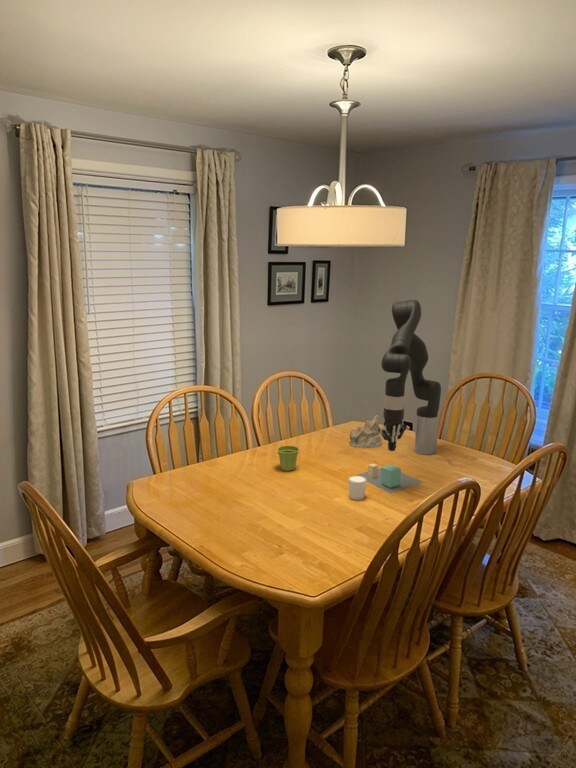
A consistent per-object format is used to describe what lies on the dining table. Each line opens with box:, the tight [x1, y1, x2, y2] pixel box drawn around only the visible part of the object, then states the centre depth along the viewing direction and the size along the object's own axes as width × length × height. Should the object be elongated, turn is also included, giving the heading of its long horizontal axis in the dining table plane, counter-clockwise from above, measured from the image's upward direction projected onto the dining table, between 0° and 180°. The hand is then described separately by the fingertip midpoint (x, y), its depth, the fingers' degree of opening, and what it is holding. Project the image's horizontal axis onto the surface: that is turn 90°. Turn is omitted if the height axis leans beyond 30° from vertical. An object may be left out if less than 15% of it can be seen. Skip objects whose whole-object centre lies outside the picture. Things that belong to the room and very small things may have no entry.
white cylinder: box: [347, 475, 367, 501], centre depth 208 cm, size 7×7×7 cm
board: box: [354, 463, 424, 494], centre depth 222 cm, size 18×20×6 cm
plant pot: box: [276, 444, 300, 472], centre depth 235 cm, size 9×9×9 cm
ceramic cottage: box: [348, 415, 383, 449], centre depth 267 cm, size 16×16×15 cm
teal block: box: [381, 464, 402, 488], centre depth 216 cm, size 5×5×7 cm
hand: (391, 450), depth 213 cm, fingers closed
